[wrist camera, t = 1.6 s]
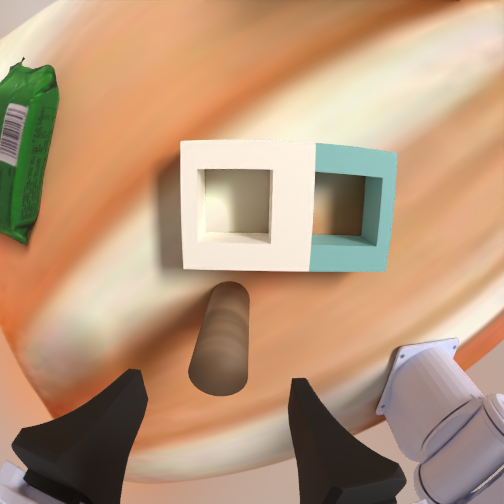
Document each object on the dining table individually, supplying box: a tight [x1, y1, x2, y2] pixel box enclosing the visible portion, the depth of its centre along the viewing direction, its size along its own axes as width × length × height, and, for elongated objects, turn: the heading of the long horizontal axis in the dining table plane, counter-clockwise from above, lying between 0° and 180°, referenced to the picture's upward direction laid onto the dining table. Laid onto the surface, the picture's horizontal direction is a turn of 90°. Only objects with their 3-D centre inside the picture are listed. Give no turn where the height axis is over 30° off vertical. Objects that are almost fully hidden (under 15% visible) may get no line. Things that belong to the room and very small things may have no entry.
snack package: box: [0, 57, 59, 245], centre depth 16 cm, size 7×16×5 cm, turn 162°
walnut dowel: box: [188, 281, 250, 396], centre depth 18 cm, size 3×3×9 cm
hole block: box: [180, 140, 397, 272], centre depth 19 cm, size 8×14×3 cm, turn 89°
